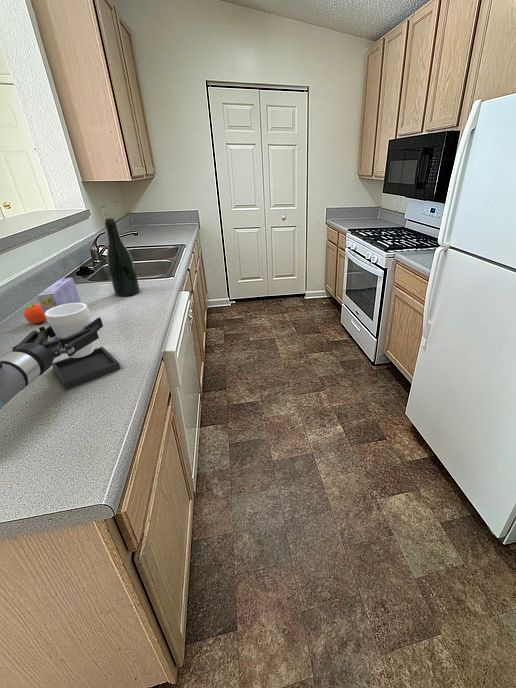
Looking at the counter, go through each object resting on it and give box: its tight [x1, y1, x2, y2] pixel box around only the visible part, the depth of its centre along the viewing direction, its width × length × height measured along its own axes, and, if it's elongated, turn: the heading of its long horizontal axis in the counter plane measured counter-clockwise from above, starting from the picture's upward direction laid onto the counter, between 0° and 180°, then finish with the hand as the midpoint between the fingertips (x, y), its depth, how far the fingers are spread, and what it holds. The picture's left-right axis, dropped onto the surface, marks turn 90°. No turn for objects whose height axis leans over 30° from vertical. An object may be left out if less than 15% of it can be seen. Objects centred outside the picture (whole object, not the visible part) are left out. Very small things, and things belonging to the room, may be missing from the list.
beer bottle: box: [104, 217, 141, 297], centre depth 145 cm, size 10×10×33 cm
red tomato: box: [20, 303, 47, 324], centre depth 123 cm, size 8×7×7 cm
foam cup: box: [45, 302, 95, 358], centre depth 90 cm, size 10×9×13 cm
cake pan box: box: [36, 277, 82, 346], centre depth 112 cm, size 19×5×18 cm, turn 14°
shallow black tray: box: [51, 346, 121, 390], centre depth 95 cm, size 14×14×2 cm
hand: (82, 322), depth 94 cm, fingers closed on foam cup, 9 cm apart
